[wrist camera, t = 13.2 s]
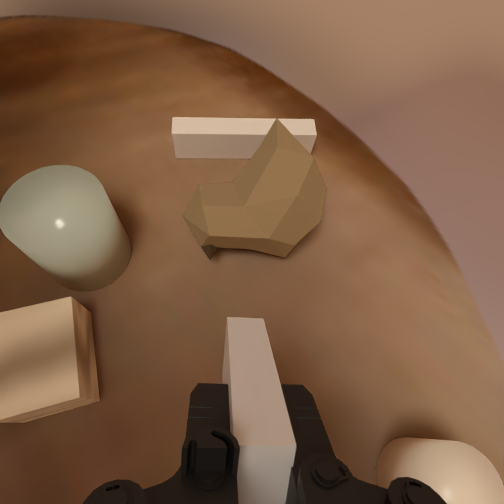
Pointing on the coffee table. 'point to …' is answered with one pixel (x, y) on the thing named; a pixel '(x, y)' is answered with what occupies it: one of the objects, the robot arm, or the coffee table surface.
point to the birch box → (46, 360)
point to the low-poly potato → (261, 200)
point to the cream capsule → (442, 469)
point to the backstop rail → (232, 136)
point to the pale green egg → (66, 226)
